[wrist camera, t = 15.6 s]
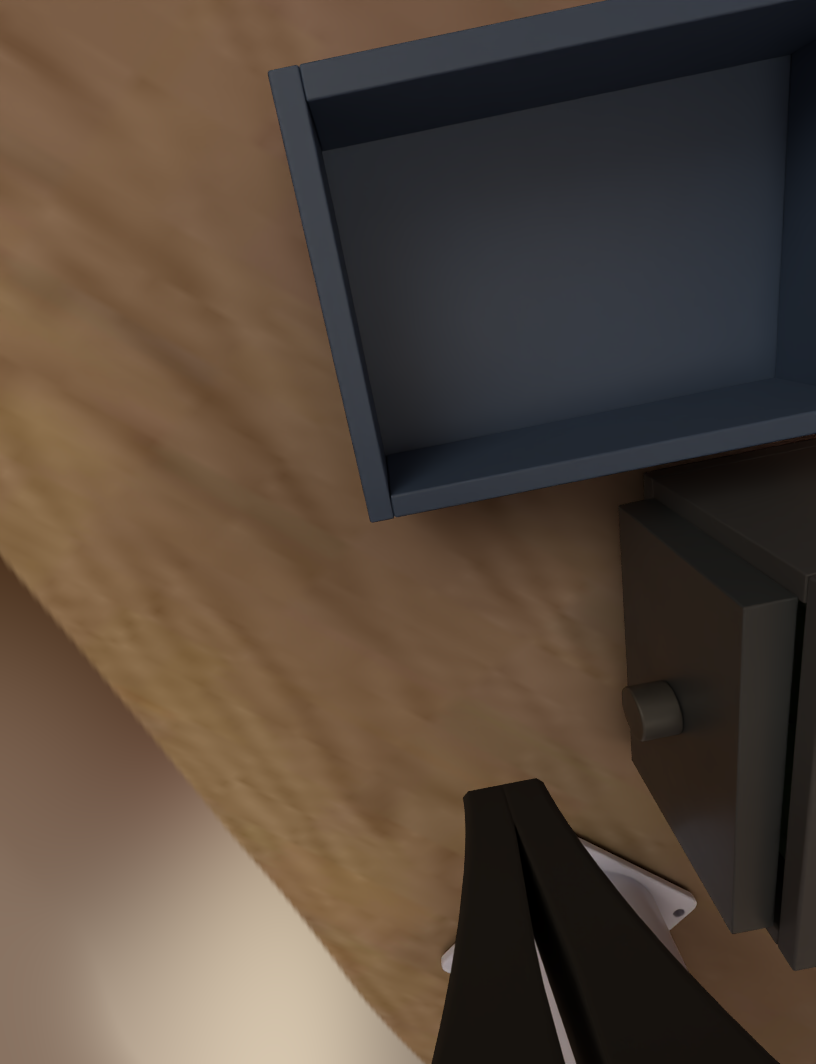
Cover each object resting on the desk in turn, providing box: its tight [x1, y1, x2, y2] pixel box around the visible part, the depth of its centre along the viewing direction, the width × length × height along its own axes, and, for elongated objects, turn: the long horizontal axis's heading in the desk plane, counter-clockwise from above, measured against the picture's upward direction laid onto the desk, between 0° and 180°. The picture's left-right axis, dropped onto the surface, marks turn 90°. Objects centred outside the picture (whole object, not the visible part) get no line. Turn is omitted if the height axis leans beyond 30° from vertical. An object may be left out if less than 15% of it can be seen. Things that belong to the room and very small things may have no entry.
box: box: [268, 0, 816, 522], centre depth 15 cm, size 13×9×5 cm
